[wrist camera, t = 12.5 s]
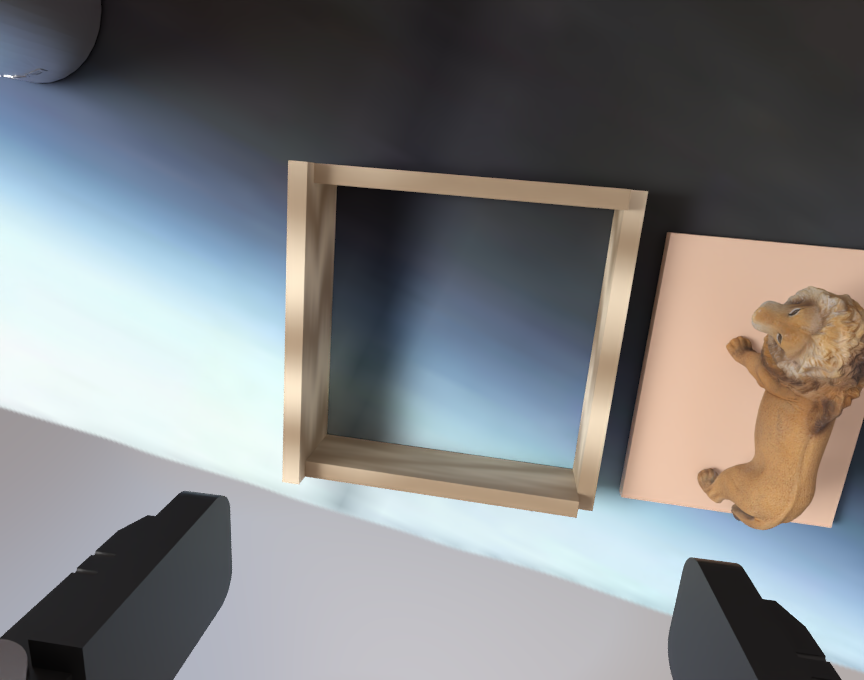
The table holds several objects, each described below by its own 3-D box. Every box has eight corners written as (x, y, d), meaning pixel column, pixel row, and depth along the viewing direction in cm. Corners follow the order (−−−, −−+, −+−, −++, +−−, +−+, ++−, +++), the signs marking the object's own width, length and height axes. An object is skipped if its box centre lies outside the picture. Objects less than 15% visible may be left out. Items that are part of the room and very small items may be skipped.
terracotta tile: (667, 231, 32) (671, 232, 31) (902, 253, 30) (912, 254, 30) (619, 490, 36) (621, 497, 35) (823, 520, 34) (830, 527, 34)
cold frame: (321, 165, 34) (288, 160, 29) (636, 191, 31) (657, 191, 27) (312, 445, 38) (282, 481, 33) (586, 485, 36) (596, 530, 31)
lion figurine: (707, 270, 31) (778, 299, 23) (813, 267, 30) (930, 296, 22) (691, 513, 35) (748, 618, 26) (787, 516, 34) (878, 626, 25)
